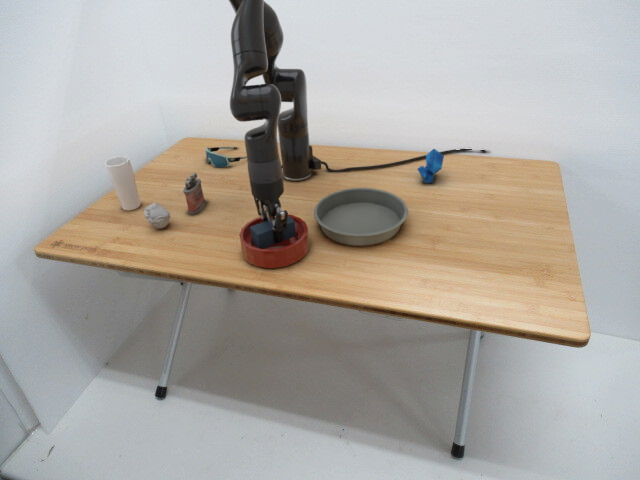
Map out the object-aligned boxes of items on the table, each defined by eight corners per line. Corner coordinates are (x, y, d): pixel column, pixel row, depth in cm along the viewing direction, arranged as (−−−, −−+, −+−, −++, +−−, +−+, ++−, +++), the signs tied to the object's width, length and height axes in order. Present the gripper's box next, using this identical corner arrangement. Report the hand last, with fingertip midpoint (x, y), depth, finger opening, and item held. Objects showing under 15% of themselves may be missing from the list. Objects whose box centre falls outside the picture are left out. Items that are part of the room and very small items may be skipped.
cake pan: (420, 242, 116) (421, 226, 113) (323, 256, 113) (322, 241, 111) (391, 195, 136) (392, 181, 133) (308, 207, 133) (307, 193, 131)
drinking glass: (148, 203, 141) (134, 157, 133) (132, 214, 136) (116, 167, 128) (131, 199, 144) (116, 154, 135) (115, 210, 139) (98, 164, 130)
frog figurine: (158, 219, 133) (151, 198, 129) (178, 223, 130) (172, 201, 126) (143, 230, 128) (136, 208, 124) (164, 234, 126) (157, 212, 122)
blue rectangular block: (287, 228, 119) (286, 213, 116) (296, 236, 116) (294, 221, 113) (252, 241, 115) (249, 226, 112) (260, 250, 111) (257, 234, 109)
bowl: (289, 224, 126) (287, 207, 123) (321, 253, 114) (320, 234, 111) (232, 245, 119) (229, 227, 116) (261, 278, 108) (257, 259, 104)
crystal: (417, 167, 135) (419, 142, 143) (416, 189, 141) (418, 164, 149) (443, 168, 134) (444, 143, 141) (441, 190, 140) (442, 165, 148)
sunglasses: (198, 159, 165) (197, 146, 163) (234, 152, 174) (233, 138, 172) (220, 171, 156) (219, 156, 154) (256, 162, 165) (256, 148, 163)
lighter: (197, 215, 133) (189, 184, 128) (186, 214, 134) (178, 183, 128) (208, 201, 140) (201, 171, 134) (197, 200, 140) (190, 170, 135)
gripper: (295, 181, 102) (301, 245, 111) (266, 160, 112) (274, 220, 122) (264, 191, 99) (274, 256, 108) (237, 168, 109) (248, 229, 118)
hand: (274, 237), depth 115 cm, fingers closed on blue rectangular block, 4 cm apart
